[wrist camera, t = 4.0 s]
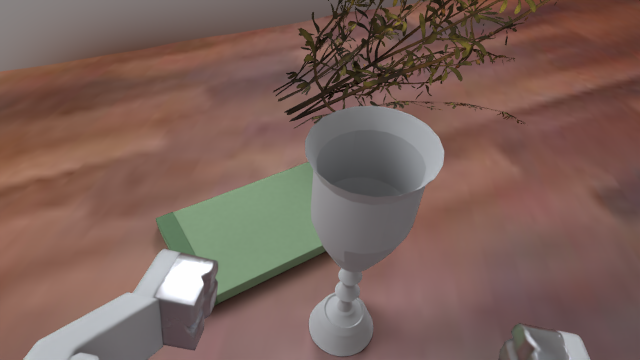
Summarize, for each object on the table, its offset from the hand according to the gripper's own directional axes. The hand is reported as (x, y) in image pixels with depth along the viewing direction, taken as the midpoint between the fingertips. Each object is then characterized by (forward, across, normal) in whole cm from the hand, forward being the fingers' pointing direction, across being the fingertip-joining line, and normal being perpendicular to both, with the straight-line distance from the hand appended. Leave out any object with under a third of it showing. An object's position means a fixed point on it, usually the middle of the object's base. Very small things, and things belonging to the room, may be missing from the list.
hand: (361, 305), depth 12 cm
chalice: (+14, -1, +19) cm, 24 cm away
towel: (+23, +6, +18) cm, 30 cm away
